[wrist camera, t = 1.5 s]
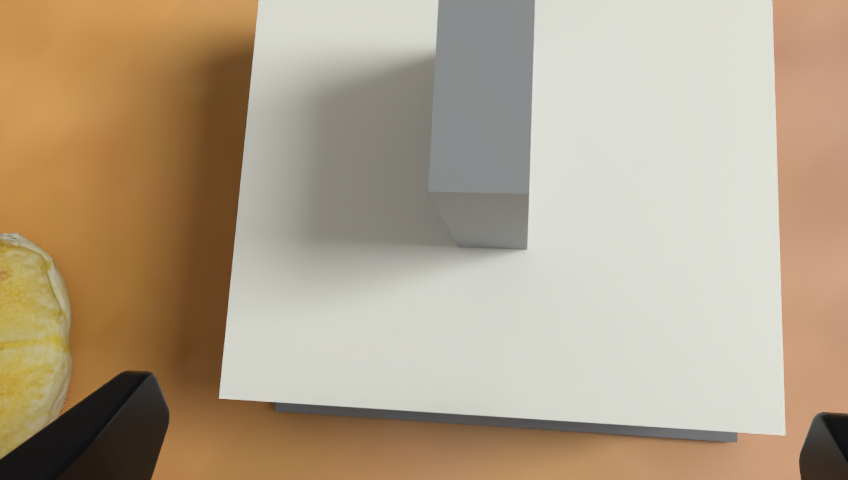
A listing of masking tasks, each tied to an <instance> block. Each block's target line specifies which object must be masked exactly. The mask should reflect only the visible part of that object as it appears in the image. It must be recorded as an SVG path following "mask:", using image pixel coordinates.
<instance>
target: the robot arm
mask: <svg viewBox="0 0 848 480" xmlns="http://www.w3.org/2000/svg"><path fill="white" fill-rule="evenodd" d="M168 424H169V409H168V406H167V403H166V401H165V398H164V396H163V393H162V391H161V388H160V386H159V383H158V380H157V378H156V376H155V375H154V374H153V373H151V372H148V371H124V372H122V373H120V374H118V375H117V376H116V377H114V378H113V379H111V380H110V381H109V382H107V383H106V384H104V385H103V386H102V387H100V388H99V389H97V390H96V391H95V392H93V393H92V394H90V395H89V396H88V397H86V398H85V399H83V400H82V401H81V402H79V403H78V404H76V405H75V406H74V407H72V408H71V409H69V410H68V411H67V412H65V413H64V414H62V415H61V416H60V417H58V418H57V419H56V420H54V421H53V422H51V423H50V424H49V425H47V426H46V427H44V428H43V429H42V430H40V431H39V432H37V433H36V434H35V435H33V436H32V437H30V438H29V439H28V440H26V441H25V442H23V443H22V444H21V445H19V446H18V447H16V448H15V449H14V450H12V451H11V452H9V453H8V454H7V455H5V456H4V457H2V458H1V459H0V480H151V478H152V475H153V472H154V469H155V466H156V463H157V459H158V456H159V453H160V450H161V447H162V444H163V441H164V438H165V434H166V431H167V428H168ZM799 467H800V474H801V480H848V414H846V413H829V412H821V413H818V414H817V415H816V416H815V417H814V419H813V421H812V423H811V426H810V429H809V431H808V434H807V436H806V439H805V442H804V444H803V447H802V450H801V453H800V458H799Z"/></svg>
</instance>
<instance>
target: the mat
mask: <svg viewBox="0 0 848 480" xmlns="http://www.w3.org/2000/svg"><path fill="white" fill-rule="evenodd" d="M275 411H277V412H292V413H307V414H322V415H337V416H351V417H366V418H381V419H396V420H411V421H426V422H441V423H455V424H470V425H485V426H500V427H515V428H530V429H545V430H559V431H574V432H589V433H604V434H619V435H634V436H649V437H663V438H678V439H693V440H708V441H723V442H737V432H724V431H709V430H693V429H678V428H663V427H647V426H632V425H617V424H601V423H586V422H571V421H556V420H540V419H525V418H510V417H494V416H479V415H464V414H448V413H433V412H418V411H403V410H387V409H372V408H357V407H341V406H326V405H311V404H296V403H280V402H275Z"/></svg>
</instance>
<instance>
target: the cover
mask: <svg viewBox="0 0 848 480" xmlns="http://www.w3.org/2000/svg"><path fill="white" fill-rule="evenodd" d="M219 399H234V400H250V401H265V402H280V403H296V404H311V405H326V406H341V407H357V408H372V409H387V410H403V411H418V412H433V413H448V414H464V415H479V416H494V417H510V418H525V419H540V420H556V421H571V422H586V423H601V424H617V425H632V426H647V427H663V428H678V429H693V430H709V431H724V432H739V433H754V434H770V435H785V406H784V373H783V340H782V307H781V274H780V241H779V208H778V175H777V142H776V109H775V76H774V43H773V10H772V0H259V4H258V14H257V23H256V33H255V43H254V53H253V63H252V73H251V83H250V93H249V103H248V113H247V123H246V133H245V143H244V153H243V163H242V173H241V183H240V193H239V203H238V213H237V223H236V233H235V242H234V252H233V262H232V272H231V282H230V292H229V302H228V312H227V322H226V332H225V342H224V352H223V362H222V372H221V382H220V392H219Z"/></svg>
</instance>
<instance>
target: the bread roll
mask: <svg viewBox="0 0 848 480" xmlns="http://www.w3.org/2000/svg"><path fill="white" fill-rule="evenodd" d="M71 321H72V311H71V305H70V300H69V296H68V291H67V288H66V285H65V282H64V279H63V277H62V275H61V273H60V272H59V270H58V268H57V266H56V264H55V262H54V260H53V259H52V257H51V256H50V255H49V254H48V253H47V252H46V251H45V250H44V249H42V248H41V247H40V246H38V245H37V244H35V243H33V242H32V241H30V240H28V239H26V238H25V237H24V236H22V235H21V234H19V233H10V234H8V233H7V234H0V459H1V458H2V457H4V456H5V455H7V454H8V453H9V452H11V451H12V450H14V449H15V448H16V447H18V446H19V445H21V444H22V443H23V442H25V441H26V440H28V439H29V438H30V437H32V436H33V435H35V434H36V433H37V432H39V431H40V430H42V429H43V428H44V427H46V426H47V425H49V424H50V423H51V422H53V421H54V420H56V419H57V418H58V416H59V414H60V412H61V409H62V407H63V405H64V402H65V399H66V395H67V392H68V388H69V384H70V380H71V373H72V355H71V350H70V346H69V333H70V328H71Z"/></svg>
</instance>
